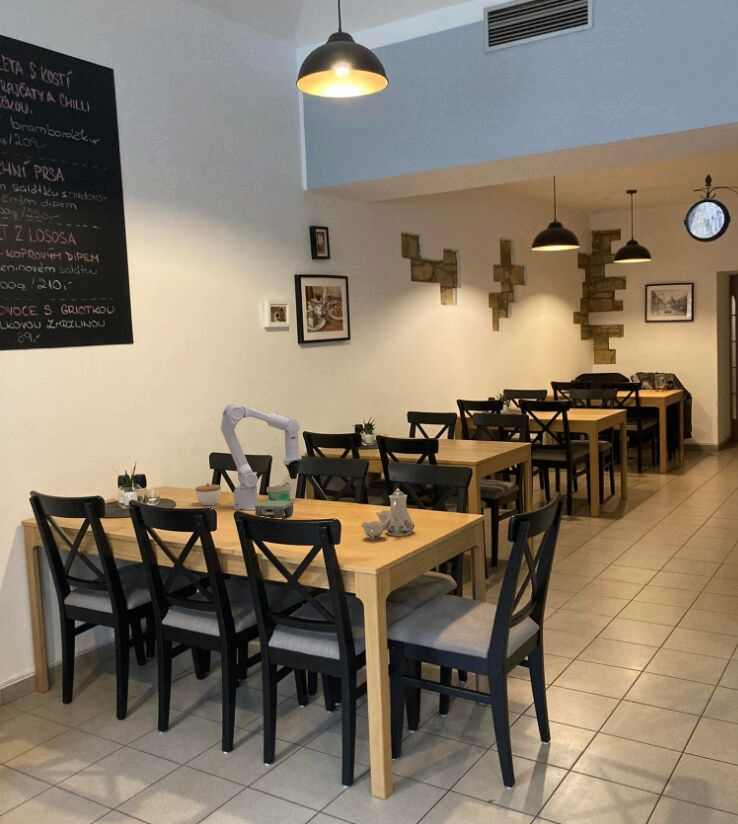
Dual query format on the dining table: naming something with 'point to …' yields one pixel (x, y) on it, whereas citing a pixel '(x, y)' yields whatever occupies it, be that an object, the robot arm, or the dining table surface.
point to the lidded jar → (208, 494)
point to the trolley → (274, 508)
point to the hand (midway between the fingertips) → (293, 478)
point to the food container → (279, 492)
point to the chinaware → (391, 519)
